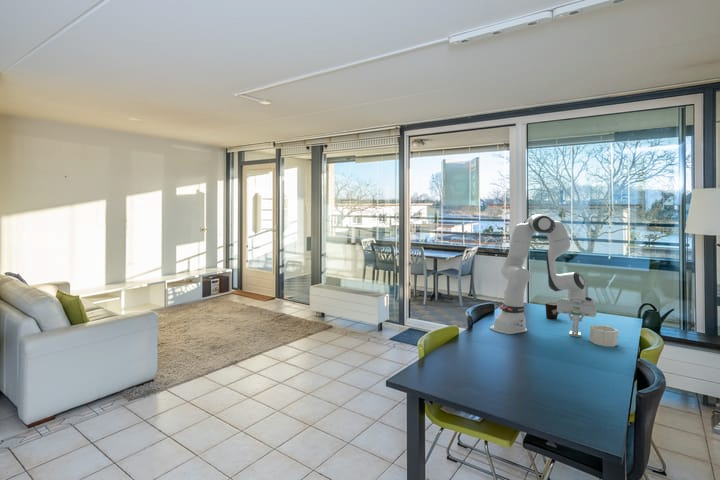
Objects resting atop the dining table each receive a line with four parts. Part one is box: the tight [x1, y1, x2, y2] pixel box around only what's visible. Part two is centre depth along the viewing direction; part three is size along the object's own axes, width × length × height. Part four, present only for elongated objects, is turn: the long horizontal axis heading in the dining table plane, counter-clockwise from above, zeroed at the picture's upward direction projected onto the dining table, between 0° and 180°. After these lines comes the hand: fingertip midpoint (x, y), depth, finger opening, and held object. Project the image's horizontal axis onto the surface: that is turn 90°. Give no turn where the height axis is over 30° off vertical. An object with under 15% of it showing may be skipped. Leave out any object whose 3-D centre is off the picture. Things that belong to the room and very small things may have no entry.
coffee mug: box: [544, 301, 560, 321], centre depth 261 cm, size 12×9×10 cm
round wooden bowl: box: [589, 324, 619, 347], centre depth 215 cm, size 12×12×8 cm
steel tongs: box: [568, 307, 581, 338], centre depth 226 cm, size 6×6×16 cm
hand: (575, 320), depth 226 cm, fingers closed on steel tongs, 3 cm apart
